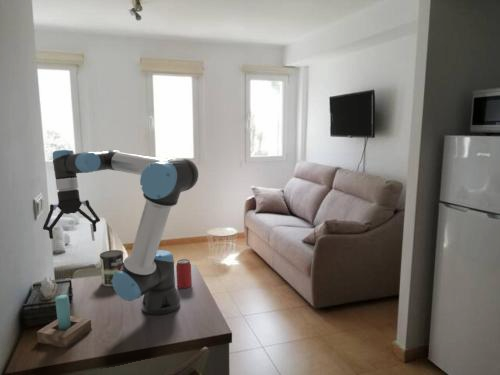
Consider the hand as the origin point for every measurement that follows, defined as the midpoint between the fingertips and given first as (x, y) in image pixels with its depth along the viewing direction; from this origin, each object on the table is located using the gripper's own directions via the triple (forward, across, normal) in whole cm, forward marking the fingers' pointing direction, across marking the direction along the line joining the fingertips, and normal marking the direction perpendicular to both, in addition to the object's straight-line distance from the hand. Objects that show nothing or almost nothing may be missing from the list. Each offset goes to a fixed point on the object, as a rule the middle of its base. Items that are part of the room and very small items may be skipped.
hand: (74, 243), depth 146 cm
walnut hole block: (+29, +7, +16) cm, 34 cm away
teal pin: (+29, +7, +16) cm, 34 cm away
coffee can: (+25, -15, -25) cm, 38 cm away
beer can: (+29, -43, -4) cm, 52 cm away
